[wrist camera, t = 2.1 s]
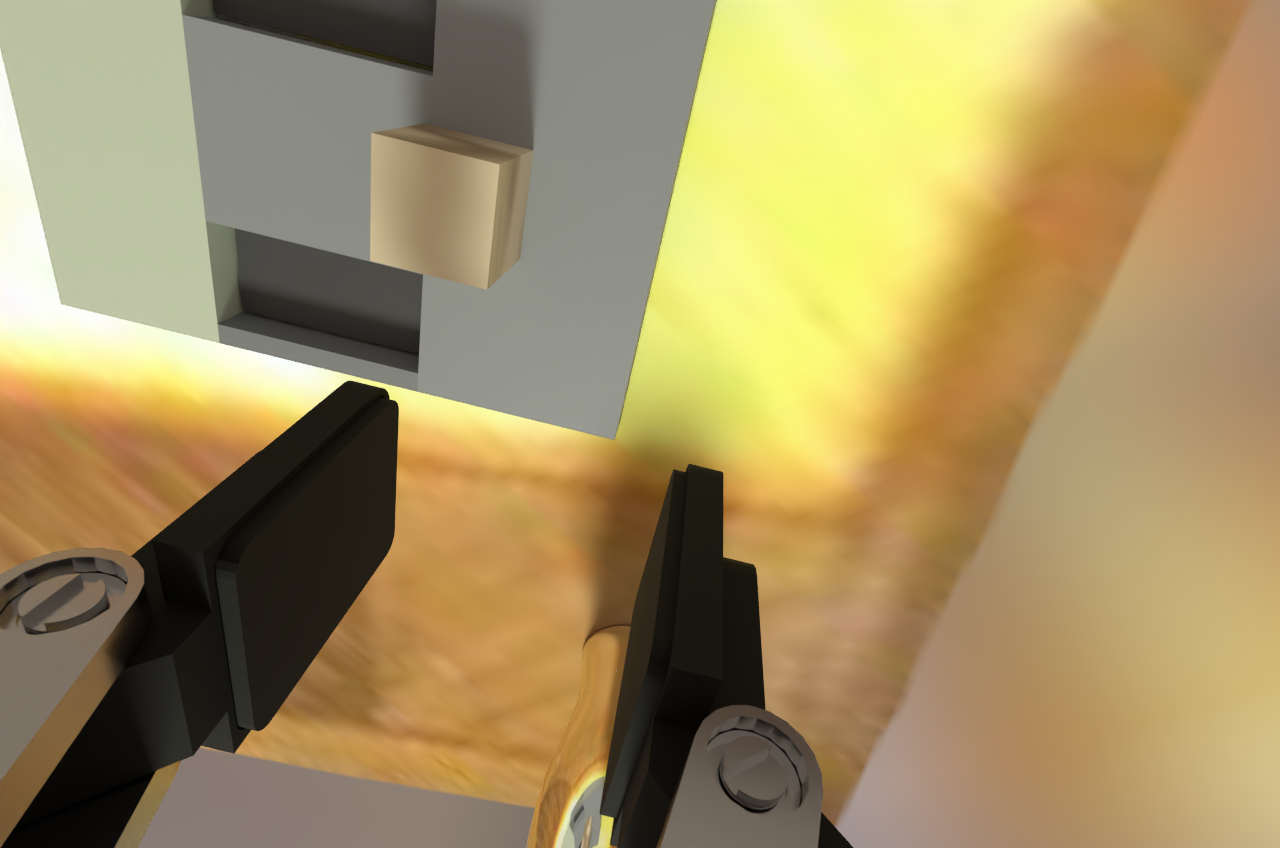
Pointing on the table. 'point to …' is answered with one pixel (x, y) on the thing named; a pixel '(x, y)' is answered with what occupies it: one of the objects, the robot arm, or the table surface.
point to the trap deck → (360, 178)
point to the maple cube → (447, 203)
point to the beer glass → (583, 753)
